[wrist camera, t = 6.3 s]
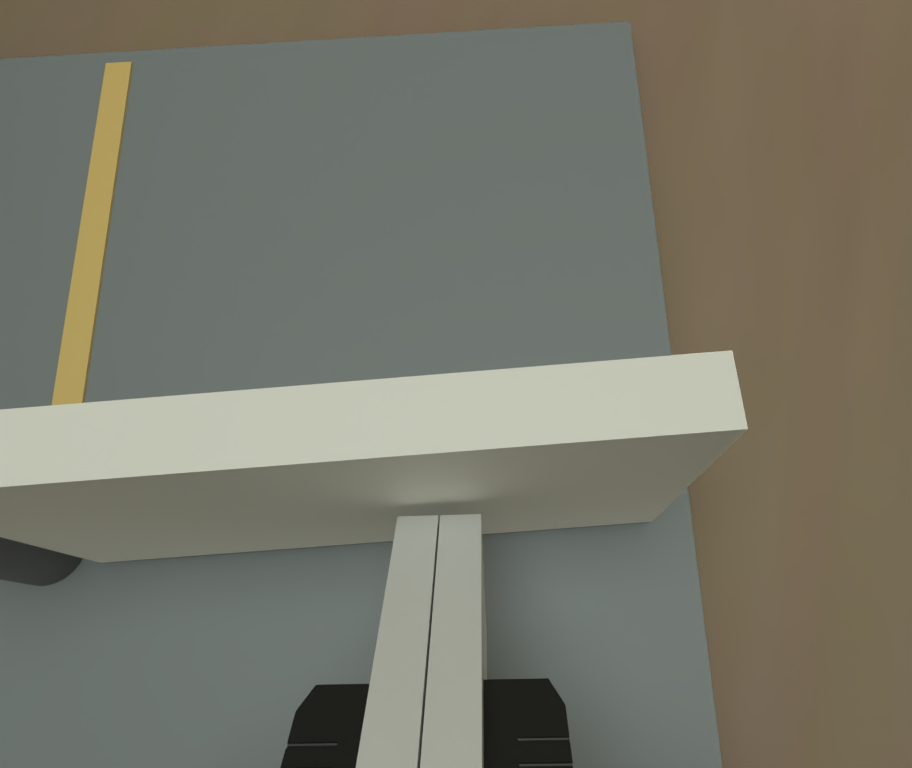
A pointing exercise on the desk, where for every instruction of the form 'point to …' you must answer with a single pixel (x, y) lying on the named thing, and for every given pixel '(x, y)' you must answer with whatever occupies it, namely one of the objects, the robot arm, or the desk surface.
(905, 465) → the desk surface
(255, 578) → the card
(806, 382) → the desk surface
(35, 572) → the fence
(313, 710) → the robot arm
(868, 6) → the desk surface
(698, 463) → the hinged panel
